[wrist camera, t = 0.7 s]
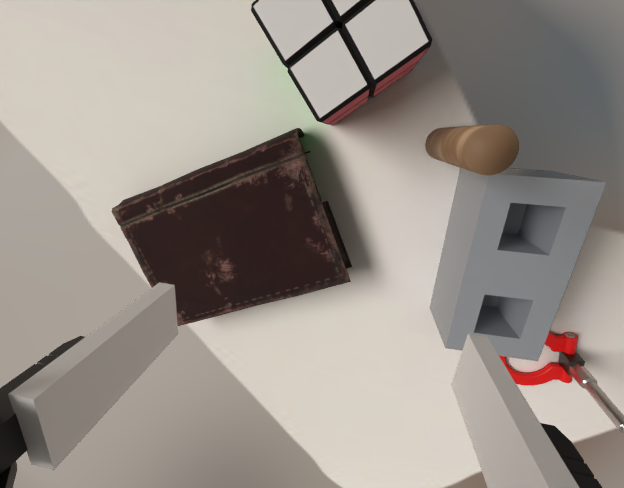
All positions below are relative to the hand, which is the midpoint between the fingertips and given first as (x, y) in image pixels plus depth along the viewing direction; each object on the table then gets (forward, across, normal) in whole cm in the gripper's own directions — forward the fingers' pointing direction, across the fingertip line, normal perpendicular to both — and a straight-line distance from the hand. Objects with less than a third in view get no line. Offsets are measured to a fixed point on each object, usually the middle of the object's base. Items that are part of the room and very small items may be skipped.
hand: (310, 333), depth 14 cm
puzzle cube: (+25, -2, +16) cm, 30 cm away
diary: (+26, -13, -5) cm, 29 cm away
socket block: (+25, +17, -2) cm, 30 cm away
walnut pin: (+25, +10, +8) cm, 28 cm away
